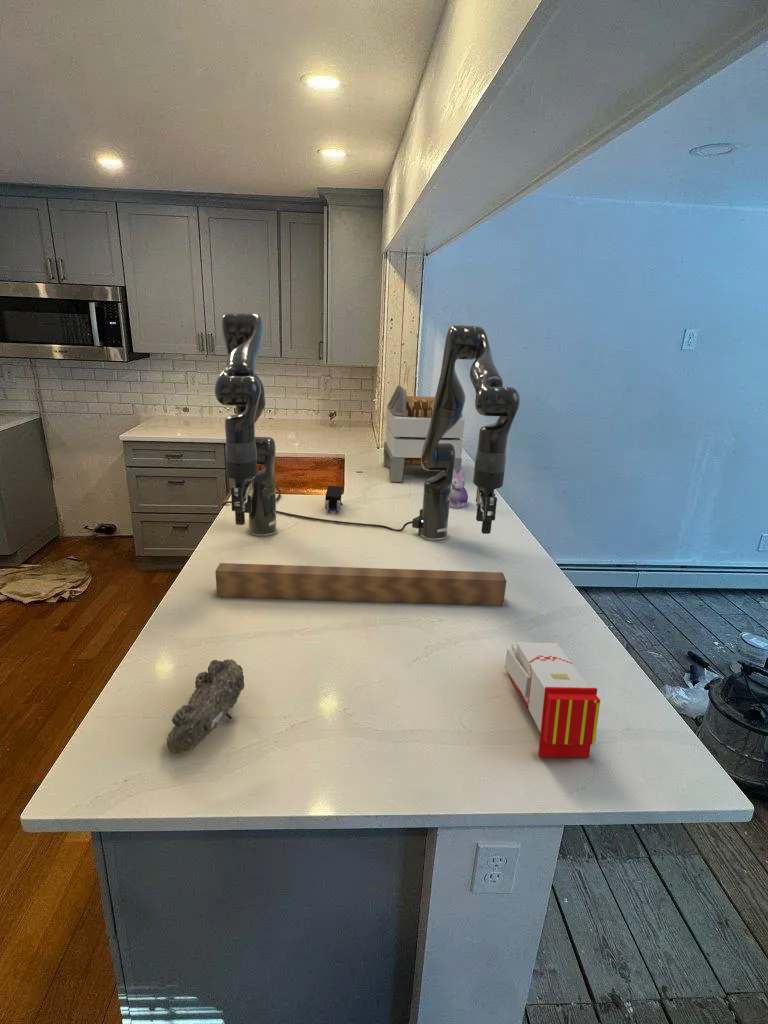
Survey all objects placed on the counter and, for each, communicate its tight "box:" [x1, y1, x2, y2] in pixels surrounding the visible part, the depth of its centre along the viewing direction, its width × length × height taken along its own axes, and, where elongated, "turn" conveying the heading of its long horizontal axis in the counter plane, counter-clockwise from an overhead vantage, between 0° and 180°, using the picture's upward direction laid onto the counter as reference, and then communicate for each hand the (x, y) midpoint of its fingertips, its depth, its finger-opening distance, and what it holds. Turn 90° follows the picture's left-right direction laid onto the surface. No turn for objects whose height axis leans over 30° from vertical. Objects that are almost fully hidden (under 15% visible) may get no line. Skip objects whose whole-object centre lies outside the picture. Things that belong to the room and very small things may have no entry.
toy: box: [504, 642, 601, 758], centre depth 113 cm, size 12×13×30 cm
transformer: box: [383, 384, 465, 483], centre depth 268 cm, size 34×33×41 cm
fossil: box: [166, 658, 245, 754], centre depth 106 cm, size 22×10×15 cm
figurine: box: [449, 468, 469, 509], centre depth 230 cm, size 9×10×15 cm
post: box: [214, 562, 507, 607], centre depth 154 cm, size 77×5×8 cm, turn 91°
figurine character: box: [324, 485, 344, 514], centre depth 220 cm, size 7×8×15 cm
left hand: (244, 518), depth 147 cm, fingers open, 8 cm apart
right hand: (482, 526), depth 148 cm, fingers open, 8 cm apart
